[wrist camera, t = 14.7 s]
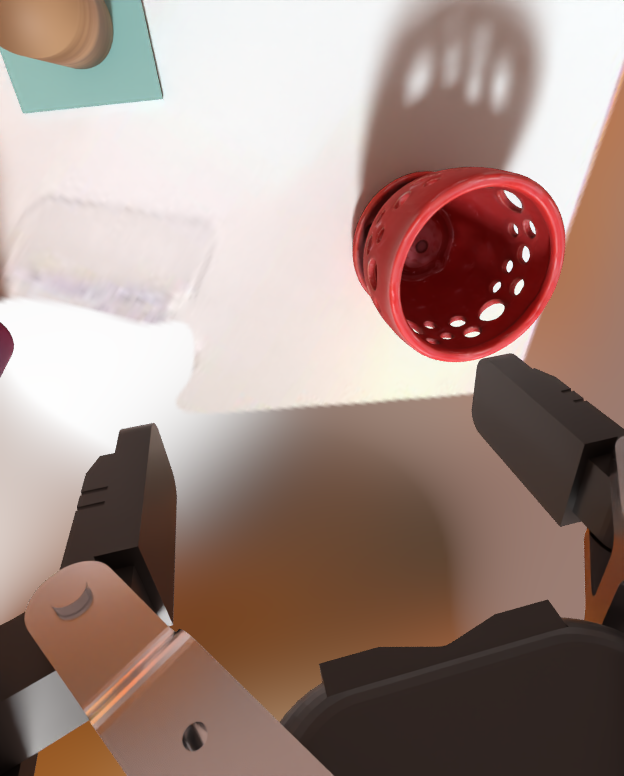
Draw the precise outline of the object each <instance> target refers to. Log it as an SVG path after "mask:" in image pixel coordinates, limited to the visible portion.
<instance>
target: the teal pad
mask: <svg viewBox="0 0 624 776" xmlns="http://www.w3.org/2000/svg"><path fill="white" fill-rule="evenodd" d="M104 2H105V3H106V5H107V8H108V10H109V12H110V15H111V19H112V23H113V42H112V46H111V49H110V52H109V54H108V55H107V57H106V58H105V59H104V60H103V61H102V62H101V63H100V64H99V65H97V66H95V67H92V68H89V69H75V68H70V67H66V66H62V65H58V64H54V63H49V62H45V61H41V60H37V59H33V58H29V57H24V56H20V55H17V54H14V53H11V52H9V51H7V50H5V49H3V48H2V47H0V52H1V55H2V57H3V60H4V63H5V65H6V68H7V71H8V74H9V76H10V79H11V82H12V85H13V87H14V90H15V93H16V96H17V98H18V101H19V104H20V106H21V109H22V112H23V113H32V112H41V111H51V110H61V109H70V108H80V107H90V106H99V105H109V104H118V103H128V102H138V101H147V100H157V99H163V97H162V92H161V88H160V83H159V79H158V74H157V70H156V65H155V61H154V56H153V52H152V47H151V43H150V38H149V34H148V29H147V25H146V20H145V16H144V11H143V7H142V2H141V0H104Z"/></svg>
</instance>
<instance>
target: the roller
mask: <svg viewBox="0 0 624 776" xmlns="http://www.w3.org/2000/svg"><path fill="white" fill-rule="evenodd" d="M112 42H113V23H112V19H111V15H110V12H109V10H108V8H107V5H106V3H105V2H104V0H0V47H2V48H3V49H5V50H7V51H9V52H11V53H14V54H17V55H20V56H24V57H29V58H33V59H37V60H41V61H45V62H49V63H54V64H58V65H62V66H66V67H70V68H75V69H89V68H92V67H95V66H97V65H99V64H100V63H101V62H102V61H103V60H104V59H105V58H106V57H107V55H108V54H109V52H110V49H111V46H112Z"/></svg>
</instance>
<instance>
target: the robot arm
mask: <svg viewBox="0 0 624 776" xmlns="http://www.w3.org/2000/svg"><path fill="white" fill-rule="evenodd" d="M472 417H473V421H474V424H475V427H476V429H477V430H478V432H479V433H480V434H481V436H482V437H483V438H484V439H485V440H486V442H487V443H488V444H489V445H490V446H491V447H492V449H493V450H494V451H495V452H496V453H497V454H498V455H499V456H500V458H501V459H502V460H503V461H504V462H505V463H506V465H507V466H508V467H509V468H510V469H511V470H512V472H513V473H514V474H515V475H516V476H517V477H518V478H519V480H520V481H521V482H522V483H523V484H524V485H525V487H526V488H527V489H528V490H529V491H530V492H531V494H532V495H533V496H534V497H535V498H536V499H537V500H538V502H539V503H540V504H541V505H542V506H543V507H544V509H545V510H546V511H547V512H548V513H549V514H550V515H551V517H552V518H553V519H554V520H555V521H556V522H557V524H558V525H559V526H560V527H561V526H565V525H569V524H572V523H576V522H581V521H582V522H583V523H584V524H585V526H586V527H587V529H586V532H585V535H584V568H585V569H584V570H585V615H584V620H580V619H571V618H561V617H560V616H559V614H558V613H557V612H556V610H555V609H554V608H553V606H552V605H551V603H550V602H549V600H545V601H541V602H538V603H534V604H531V605H527V606H524V607H520V608H516V609H513V610H509V611H506V612H502V613H498V614H495V615H493V616H492V617H490V618H489V619H487V620H486V621H484V622H483V623H481V624H479V625H478V626H476V627H475V628H473V629H472V630H470V631H469V632H467V633H466V634H464V635H463V636H461V637H460V638H458V639H456V640H455V641H453V642H452V643H450V644H448V645H446V646H442V647H378V648H374V649H370V650H367V651H363V652H360V653H356V654H352V655H349V656H345V657H342V658H338V659H335V660H331V661H327V662H324V663H321V664H319V665H320V672H321V677H322V683H321V684H320V685H318V686H317V687H315V688H314V689H312V690H310V691H309V692H308V693H307V694H306V695H305V696H303V697H302V698H301V699H300V700H298V701H297V702H296V704H295V705H294V706H293V707H292V708H291V709H290V710H289V711H288V712H287V713H286V714H285V716H284V717H283V719H282V720H281V721H280V723H279V722H278V721H277V720H276V719H275V718H274V717H273V716H272V715H271V714H270V713H269V712H268V711H267V710H266V709H265V708H264V707H263V706H262V705H261V704H260V703H259V702H258V701H257V700H256V699H255V698H254V697H253V696H252V695H251V694H250V693H249V692H248V691H247V690H246V689H244V687H243V686H242V685H241V684H240V683H239V682H238V681H236V679H234V678H233V677H232V676H231V675H230V674H229V673H228V672H227V671H226V670H225V669H224V668H223V667H222V666H221V665H220V664H219V663H218V662H217V661H216V660H215V659H214V658H213V657H212V656H211V655H210V654H209V653H208V652H207V651H206V650H205V649H204V648H203V647H202V646H201V645H200V644H199V643H198V642H197V641H196V640H195V639H194V638H192V637H191V636H190V635H189V634H188V633H186V632H185V631H183V630H181V629H179V630H178V631H177V632H174V631H173V630H172V629H171V628H170V627H169V626H170V625H173V606H174V572H175V570H174V568H175V537H176V536H175V535H176V504H177V495H176V486H175V480H174V476H173V472H172V469H171V466H170V463H169V460H168V457H167V454H166V451H165V448H164V445H163V443H162V439H161V436H160V434H159V431H158V428H157V426H156V425H155V423H151V424H146V425H141V426H136V427H132V428H126V429H122V430H120V432H119V436H118V440H117V445H116V450H115V453H113V454H108V455H103V456H100V457H99V458H98V459H97V461H96V462H95V463H94V464H93V466H92V467H91V468H90V469H89V471H88V472H87V473H86V476H85V479H84V483H83V487H82V490H81V493H82V495H81V496H80V498H79V501H78V505H77V511H76V513H75V516H74V520H73V523H72V527H71V531H70V535H69V538H68V542H67V546H66V549H65V553H64V557H63V560H62V564H61V567H60V570H59V571H58V572H56V573H55V574H53V575H52V576H50V577H49V578H48V579H47V580H45V581H44V582H43V583H42V584H41V585H40V586H39V588H38V589H37V590H36V591H35V592H34V594H33V596H32V597H31V599H30V600H29V603H28V605H27V607H26V611H25V612H24V613H22V614H21V615H19V616H17V617H16V618H14V619H12V620H10V621H8V622H6V623H4V624H2V625H0V776H34V772H35V766H36V761H37V755H38V752H39V751H40V750H42V749H44V748H45V747H46V746H48V745H50V744H52V743H53V742H55V741H56V740H58V739H59V738H61V737H63V736H64V735H66V734H68V733H69V732H71V731H72V730H74V729H76V728H77V727H79V726H80V725H82V724H84V723H85V722H87V721H88V720H89V721H90V722H91V724H92V725H93V727H94V728H95V730H96V731H97V733H98V734H99V736H100V737H101V738H102V740H103V742H104V743H105V744H106V746H107V747H108V749H109V750H110V751H111V753H112V755H113V756H114V757H115V759H116V760H117V762H118V763H119V765H120V766H121V767H122V769H123V770H124V772H125V773H126V774H127V776H624V429H623V428H622V427H620V426H619V425H618V424H617V423H615V422H614V421H613V420H611V419H610V418H609V417H607V416H606V415H605V414H603V413H602V412H601V411H599V410H598V409H597V408H596V407H594V406H593V405H592V404H590V403H589V402H588V401H584V400H583V398H582V397H581V396H580V395H578V394H577V393H576V392H575V391H571V388H569V387H568V386H566V385H565V384H564V383H563V382H561V381H560V380H559V379H557V378H556V377H554V376H552V375H549V374H547V373H545V372H542V371H540V370H537V369H535V368H534V369H532V368H531V367H529V366H528V365H527V364H526V363H524V362H523V361H522V360H521V359H519V358H518V357H517V356H515V355H514V354H504V355H499V356H494V357H489V358H484V359H481V360H480V361H479V363H478V365H477V371H476V379H475V387H474V396H473V405H472Z"/></svg>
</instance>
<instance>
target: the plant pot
mask: <svg viewBox="0 0 624 776" xmlns="http://www.w3.org/2000/svg"><path fill="white" fill-rule="evenodd" d="M504 190H506V191H509V192H511V193H513V194H514V195H516V196H517V197H518V199H519V200H520V201H521V203H522V208H519V207H517V206H515V205H514V204H513V203H512V202H511V201H510V200H509V199H508V198H507V196H506V195H505V193H504ZM529 221H531V222H532V223H533V224H534V227H535V231H536V234H534V233H533V232H532V230H531V228H530V224H529ZM514 224H515V225H516V226H517V228H518V234H517V233H516V232H515V230H514ZM524 246H527V247H528V249H529V251H530V258H529V261H528V262H527V263H526V262H525V261H524V260H523V258H522V251H523V248H524ZM564 252H565V230H564V225H563V221H562V217H561V214H560V212H559V209H558V207H557V205H556V204H555V202H554V200H553V199H552V197H551V196H550V195H549V193H548V192H547V191H546V190H545V189H544V188H543V187H542V186H541V185H539V184H538V183H537V182H535V181H533V180H531V179H530V178H528V177H525V176H523V175H520V174H517V173H512V172H508V171H504V170H499V169H494V168H484V167H460V168H451V169H446V170H441V171H437V172H432V171H423V172H415V173H411V174H408V175H405V176H402V177H400V178H398V179H396V180H394V181H393V182H391V183H390V184H388V185H386V186H385V187H384V188H383V189H381V190H380V191H379V192H378V193H377V194H376V195H375V196H374V197H373V199H372V200H371V201H370V202H369V204H368V205H367V207H366V208H365V210H364V212H363V213H362V215H361V217H360V220H359V222H358V224H357V227H356V231H355V235H354V240H353V262H354V267H355V271H356V274H357V277H358V279H359V281H360V283H361V285H362V287H363V288H364V289H365V291H366V292H367V293H368V294H369V295H370V296H371V298H372V301H373V303H374V305H375V307H376V308H377V310H378V312H379V313H380V315H381V316H382V318H383V319H384V320H385V322H386V323H387V324H388V325H389V326H390V327H391V329H392V330H393V331H394V332H395V333H396V334H397V335H398V336H399V337H400V338H401V339H402V340H403V341H404V342H405V343H406V344H408V345H409V346H410V347H412V348H413V349H414V350H416V351H417V352H419V353H420V354H422V355H424V356H427V357H429V358H432V359H435V360H440V361H446V362H464V361H471V360H476V359H479V358H483V357H485V356H488V355H491V354H493V353H495V352H497V351H499V350H501V349H502V348H504V347H506V346H507V345H509V344H510V343H512V342H513V341H514V340H516V339H517V338H518V337H520V336H521V335H522V334H523V333H524V332H525V331H526V330H527V329H528V328H529V327H530V326H531V325H532V324H533V323H534V321H535V320H536V319H537V318H538V316H539V315H540V314H541V312H542V311H543V309H544V308H545V306H546V305H547V303H548V301H549V300H550V298H551V296H552V294H553V292H554V290H555V288H556V285H557V282H558V279H559V276H560V273H561V269H562V265H563V260H564ZM510 260H511V261H512V262H513V268H512V270H511V271H510V272H509V273H508V272H507V270H506V266H507V263H508V261H510ZM522 279H523V281H524V287H523V288H522V290H521V292H520V293H519V294H518V295H515V294H514V289H515V286H516V285H517V283H518V282H519V281H520V280H522ZM497 282H501V287H500V289H499V290H498V291H497V292H495V293H494V292H493V287H494V285H495V284H496V283H497ZM497 303H501V304H503V305H504V306H505V309H504V312H503V313H502V315H501V316H499V317H498V318H497V319H495V320H491V321H482V320H480V318H479V317H480V314H481V313H482V312H483V311H484V310H485V309H486V308H488V307H489V306H491V305H493V304H497ZM456 320H462V321H465V322H466V323H465V324H464V325H462V326H460V327H453V326H451V325H450V324H451V323H452V322H453V321H456ZM425 326H430V327H433V329H429V328H427V327H425ZM413 329H414V330H416V331H417V332H418V333H419V334H418V333H416V332H414V330H413ZM474 331H476V332H480V334H479V335H478V336H476V337H465V335H466V334H467V333H470V332H474ZM445 337H446V338H451V339H443V338H445Z"/></svg>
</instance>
